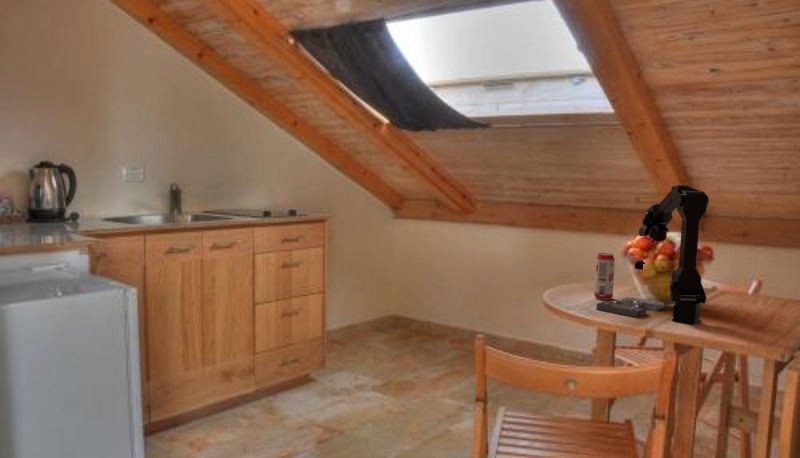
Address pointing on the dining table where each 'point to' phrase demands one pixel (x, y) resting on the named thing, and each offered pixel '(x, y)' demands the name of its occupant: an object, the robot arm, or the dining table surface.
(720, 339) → the dining table surface
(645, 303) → the free leaf
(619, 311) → the fixed leaf
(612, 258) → the beer can
